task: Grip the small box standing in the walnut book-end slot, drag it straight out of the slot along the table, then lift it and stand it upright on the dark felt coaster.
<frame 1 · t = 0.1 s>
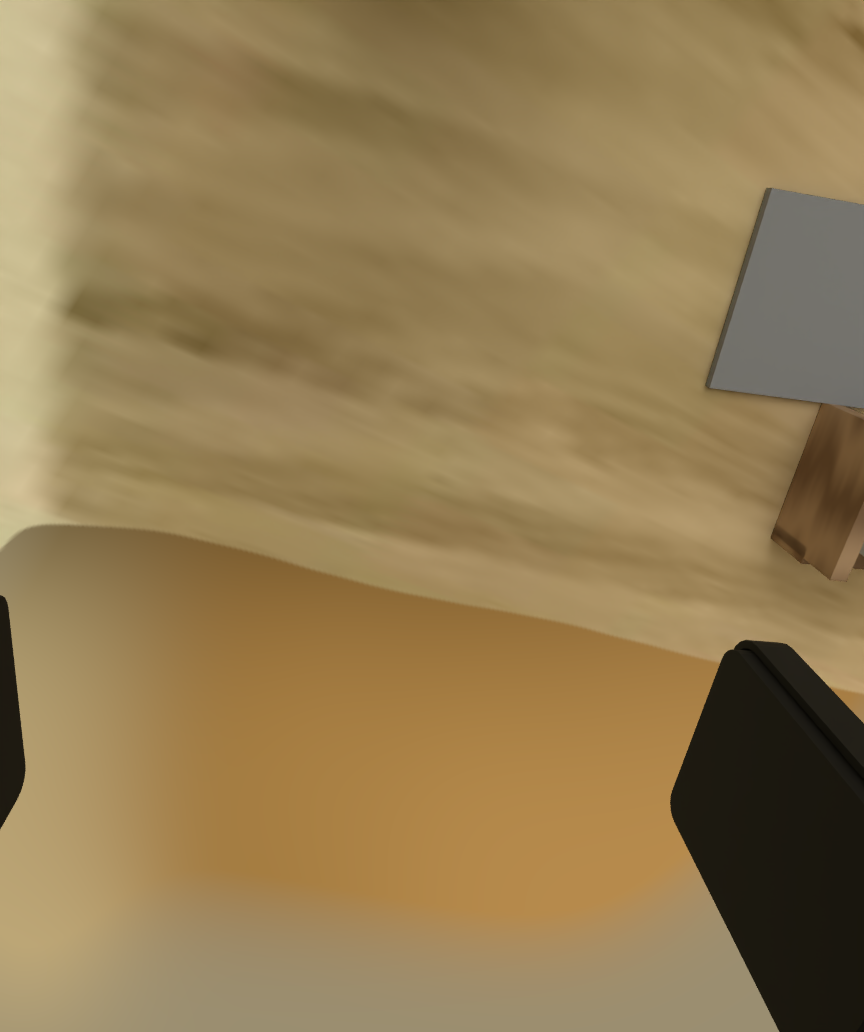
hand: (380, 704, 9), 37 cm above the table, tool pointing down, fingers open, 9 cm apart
coaster: (820, 305, 45), on the table
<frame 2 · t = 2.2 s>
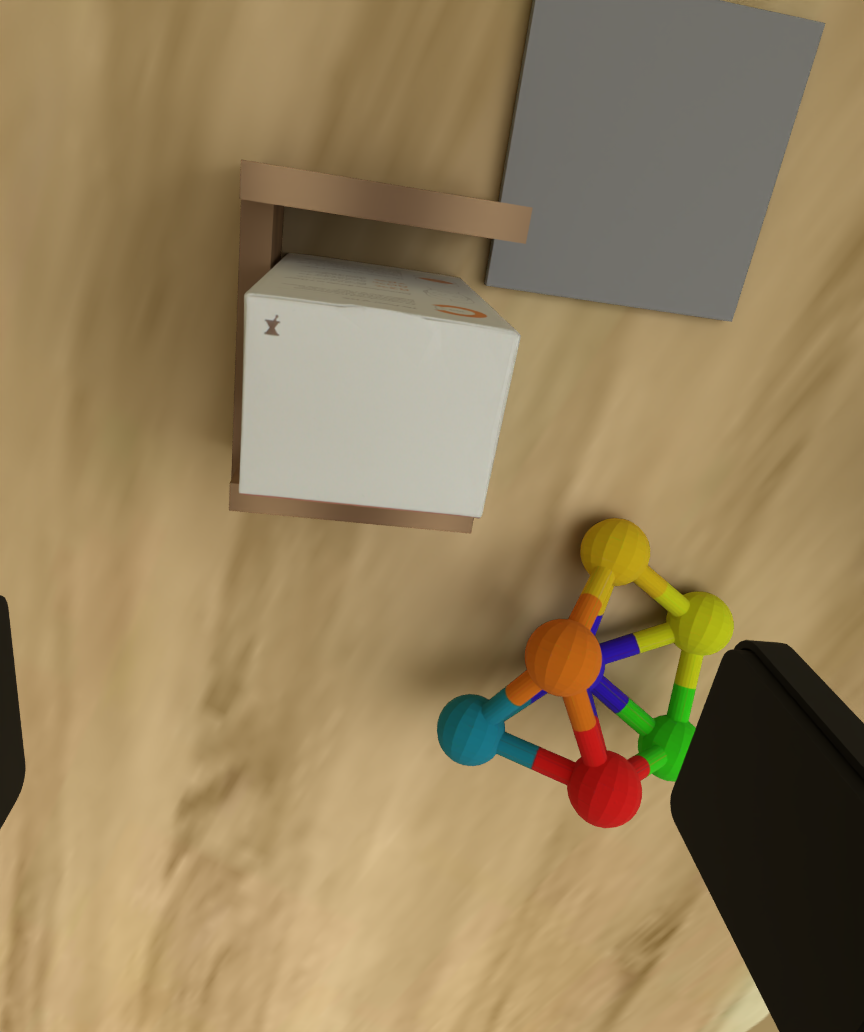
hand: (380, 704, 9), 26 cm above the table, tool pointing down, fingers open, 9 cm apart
small box: (368, 334, 33), on the table
molecular model: (588, 630, 41), on the table
slot: (368, 335, 33), on the table
coaster: (642, 161, 31), on the table
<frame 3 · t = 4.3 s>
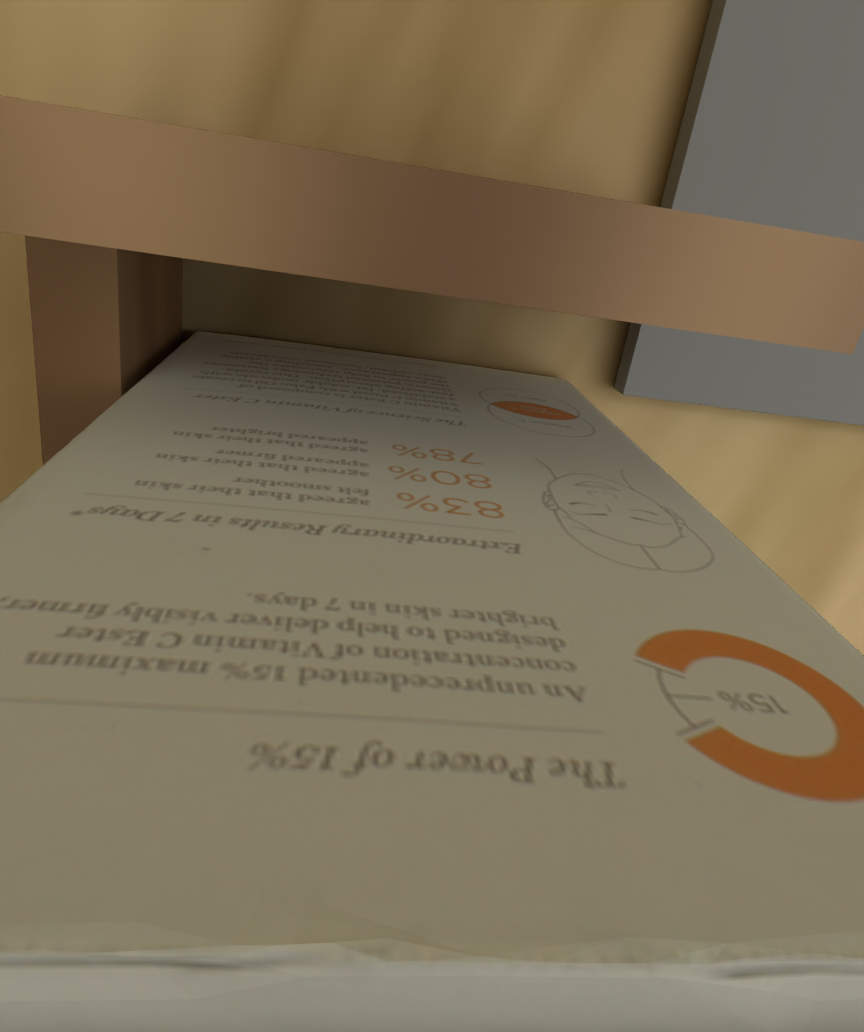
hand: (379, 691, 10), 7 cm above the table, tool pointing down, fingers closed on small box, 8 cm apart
small box: (372, 487, 16), on the table, touching gripper
slot: (372, 489, 16), on the table
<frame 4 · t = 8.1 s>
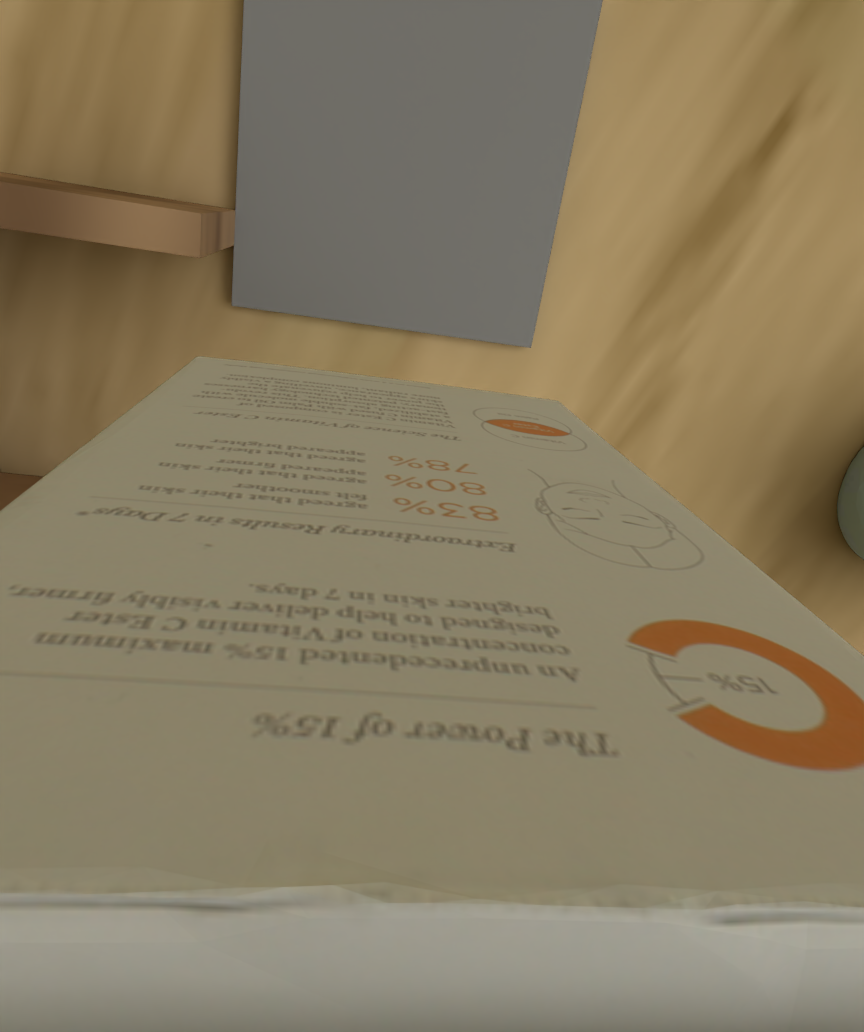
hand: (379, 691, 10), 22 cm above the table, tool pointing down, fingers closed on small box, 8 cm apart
small box: (368, 509, 16), point 14 cm above the table, touching gripper
slot: (102, 362, 28), on the table
coaster: (405, 161, 26), on the table
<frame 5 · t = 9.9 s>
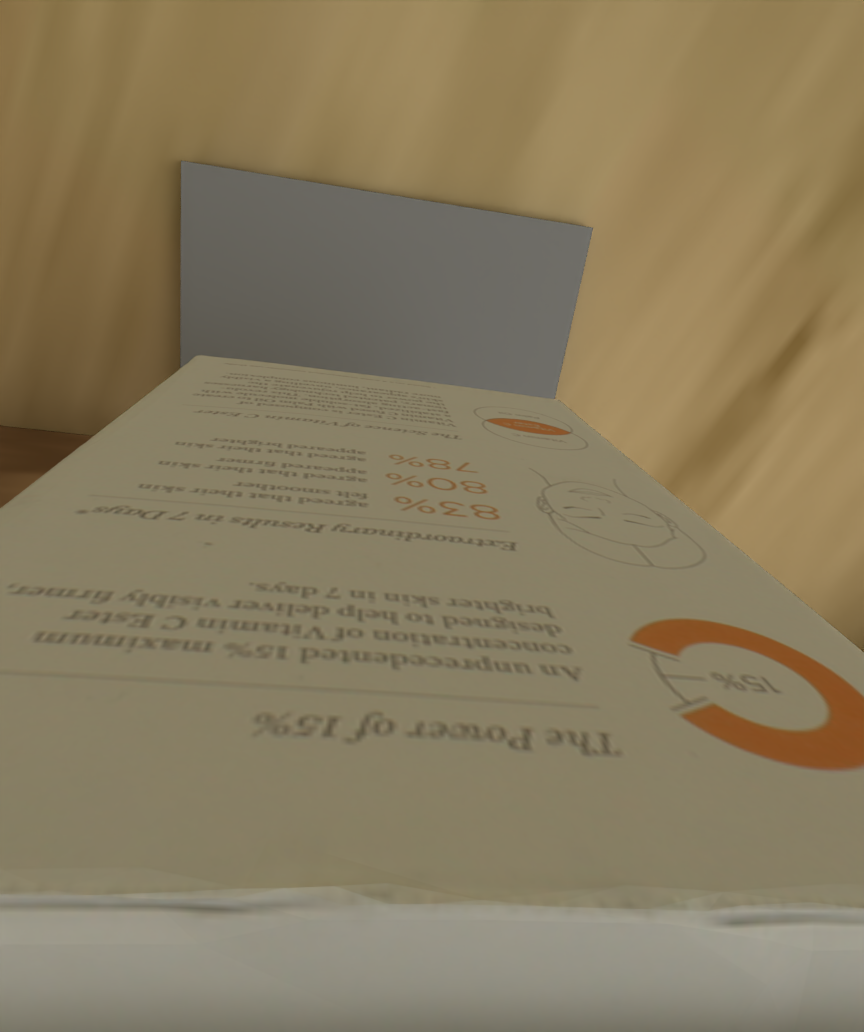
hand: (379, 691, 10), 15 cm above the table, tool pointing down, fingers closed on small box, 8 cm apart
small box: (369, 508, 16), point 8 cm above the table, touching gripper
slot: (40, 597, 25), on the table
coaster: (371, 392, 23), on the table
when the fingers open (9 cm above the table, at t = 11.7 s): small box drops 1 cm, resting on coaster.
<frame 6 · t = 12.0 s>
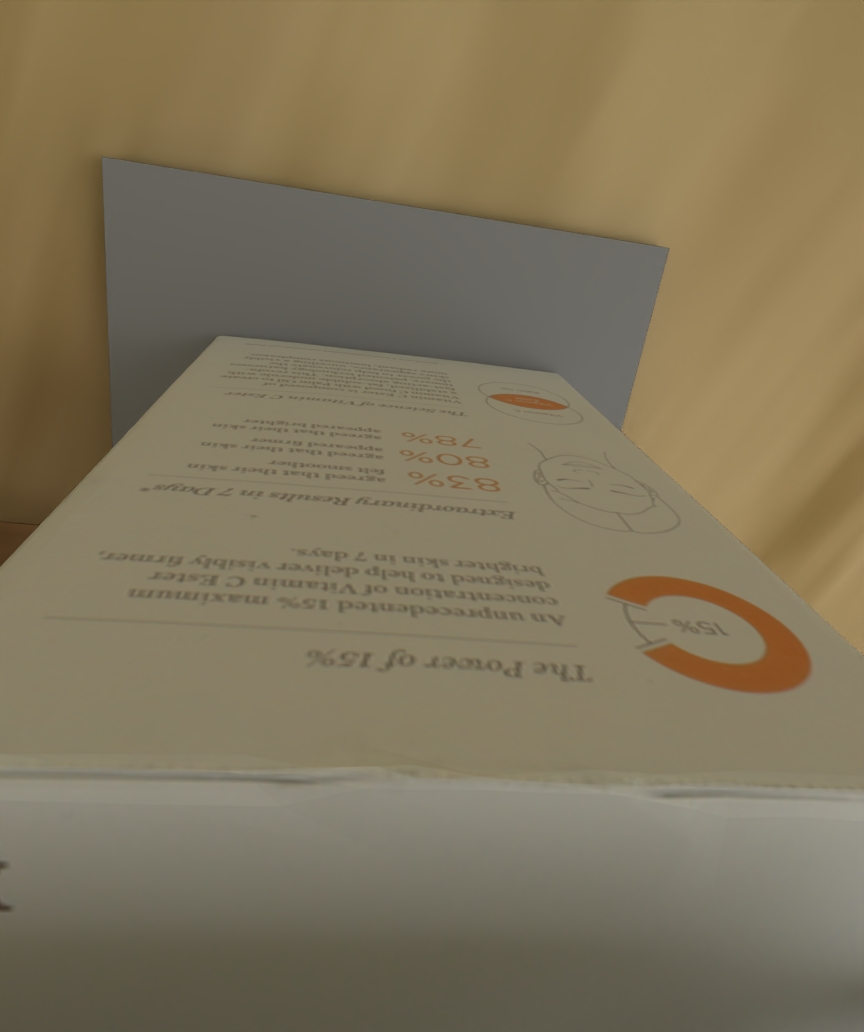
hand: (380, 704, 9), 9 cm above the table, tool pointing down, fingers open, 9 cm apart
small box: (380, 477, 18), resting on coaster
coaster: (370, 462, 18), on the table
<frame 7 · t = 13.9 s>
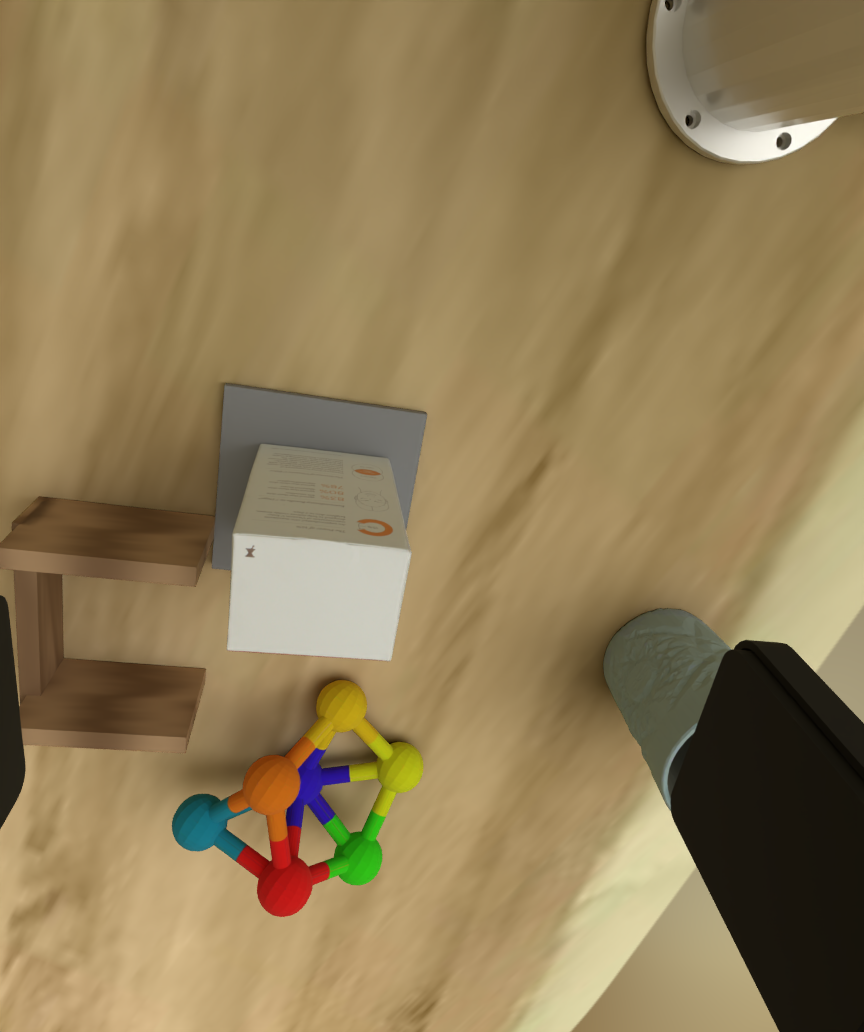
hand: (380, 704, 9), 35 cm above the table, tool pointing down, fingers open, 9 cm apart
small box: (320, 495, 45), resting on coaster
molecular model: (321, 755, 53), on the table
slot: (131, 596, 46), on the table
coaster: (316, 490, 45), on the table
blue-grey cup: (658, 654, 54), on the table
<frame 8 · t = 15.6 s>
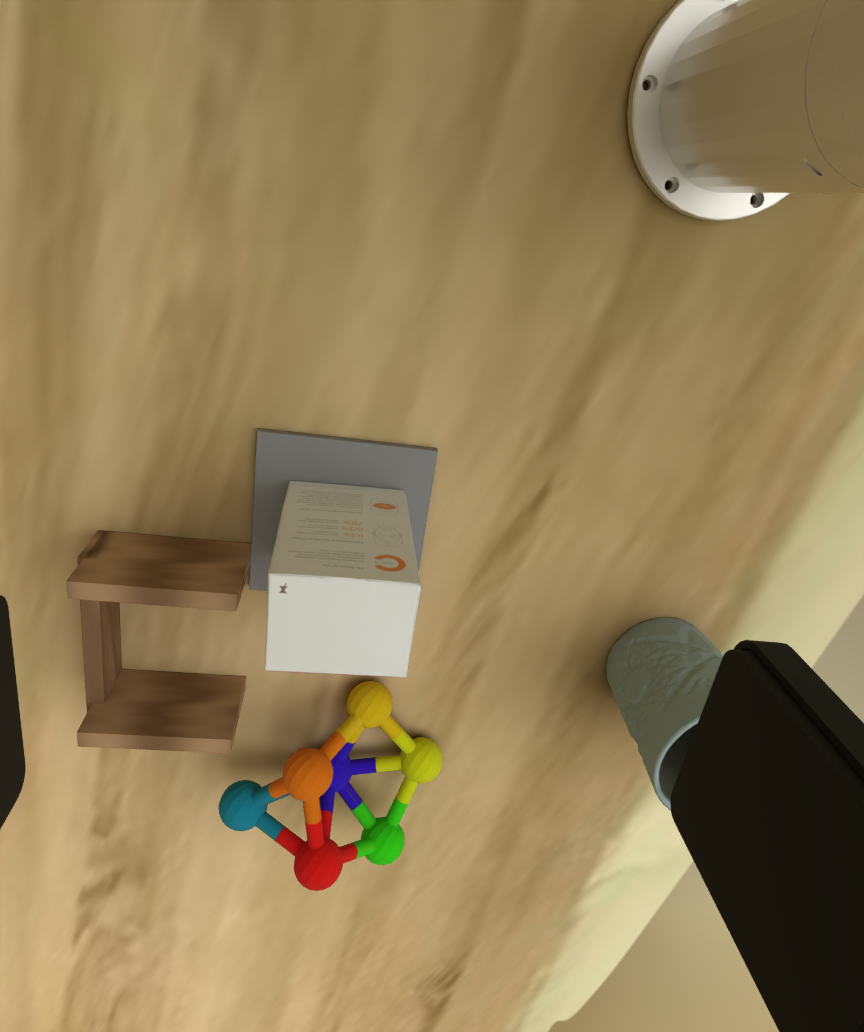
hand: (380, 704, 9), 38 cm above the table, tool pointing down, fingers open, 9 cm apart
small box: (344, 524, 50), resting on coaster
molecular model: (350, 747, 59), on the table
slot: (179, 614, 52), on the table
coaster: (340, 518, 50), on the table
blue-grey cup: (658, 658, 58), on the table
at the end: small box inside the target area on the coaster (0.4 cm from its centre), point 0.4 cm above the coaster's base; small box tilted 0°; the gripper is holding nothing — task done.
